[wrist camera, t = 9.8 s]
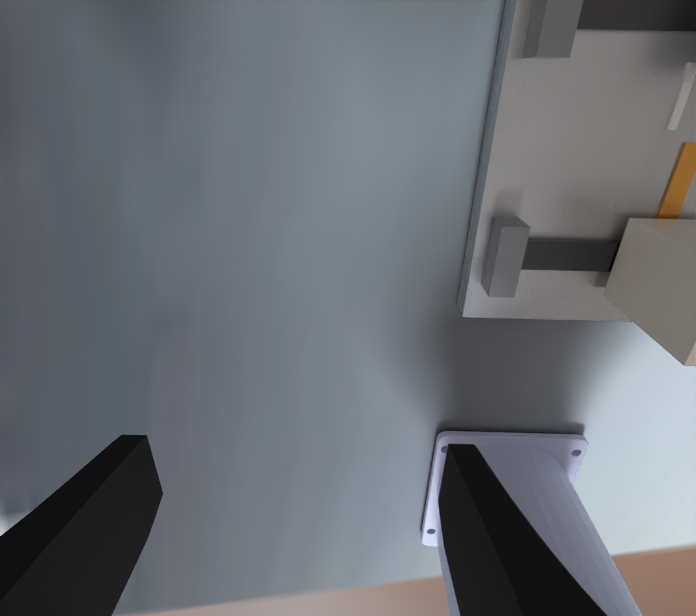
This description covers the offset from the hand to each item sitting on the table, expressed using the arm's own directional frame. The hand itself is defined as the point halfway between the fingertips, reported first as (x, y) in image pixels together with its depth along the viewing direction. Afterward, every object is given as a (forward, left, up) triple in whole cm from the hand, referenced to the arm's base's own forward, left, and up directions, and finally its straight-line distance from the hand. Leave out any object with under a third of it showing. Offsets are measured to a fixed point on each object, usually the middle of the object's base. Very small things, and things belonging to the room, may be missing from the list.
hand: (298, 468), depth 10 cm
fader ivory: (+3, -13, -8) cm, 16 cm away
